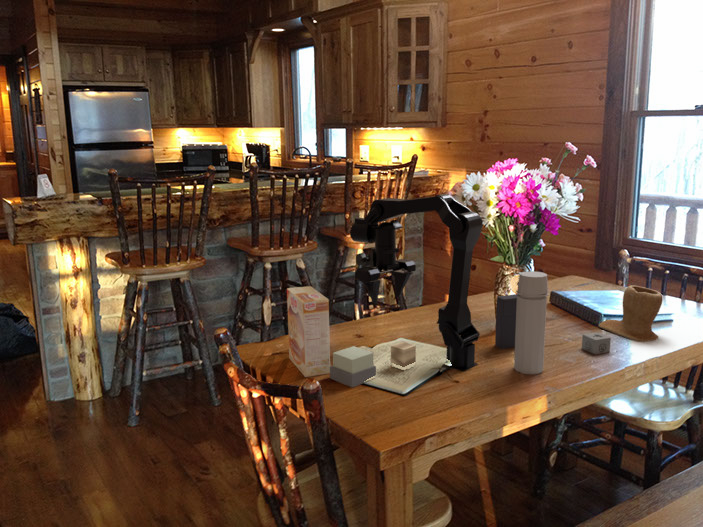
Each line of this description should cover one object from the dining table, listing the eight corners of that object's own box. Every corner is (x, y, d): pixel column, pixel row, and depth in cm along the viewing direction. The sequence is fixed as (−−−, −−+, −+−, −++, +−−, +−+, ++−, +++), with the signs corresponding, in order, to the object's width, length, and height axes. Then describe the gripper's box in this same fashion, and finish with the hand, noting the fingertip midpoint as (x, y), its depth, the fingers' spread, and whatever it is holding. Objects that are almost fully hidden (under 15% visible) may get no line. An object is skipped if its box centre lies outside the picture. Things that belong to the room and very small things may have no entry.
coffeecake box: (288, 358, 173) (285, 288, 169) (313, 354, 175) (311, 285, 171) (304, 377, 159) (301, 301, 155) (331, 373, 161) (329, 298, 157)
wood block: (415, 367, 165) (415, 345, 163) (403, 372, 161) (404, 349, 160) (402, 363, 168) (402, 341, 166) (390, 367, 165) (390, 345, 163)
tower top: (373, 366, 157) (373, 352, 156) (352, 373, 152) (352, 359, 152) (354, 359, 162) (353, 346, 161) (333, 366, 157) (332, 352, 157)
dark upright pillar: (526, 342, 182) (529, 291, 179) (535, 347, 178) (538, 295, 175) (493, 347, 179) (495, 295, 175) (501, 352, 175) (503, 299, 172)
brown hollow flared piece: (668, 341, 182) (673, 290, 179) (637, 347, 177) (641, 294, 174) (627, 326, 196) (630, 279, 192) (597, 332, 191) (600, 283, 188)
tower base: (375, 379, 158) (375, 366, 157) (352, 388, 153) (352, 375, 152) (353, 371, 164) (353, 358, 163) (330, 379, 158) (329, 366, 157)
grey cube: (609, 355, 171) (610, 337, 170) (594, 358, 170) (595, 340, 169) (596, 349, 176) (597, 332, 175) (581, 352, 174) (582, 334, 173)
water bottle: (538, 379, 156) (543, 279, 151) (507, 372, 160) (511, 275, 155) (551, 367, 163) (556, 272, 158) (522, 361, 168) (526, 268, 163)
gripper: (387, 237, 187) (388, 289, 190) (340, 246, 174) (342, 301, 177) (416, 241, 179) (417, 295, 182) (368, 250, 166) (370, 308, 169)
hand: (386, 300), depth 178 cm, fingers open, 9 cm apart
